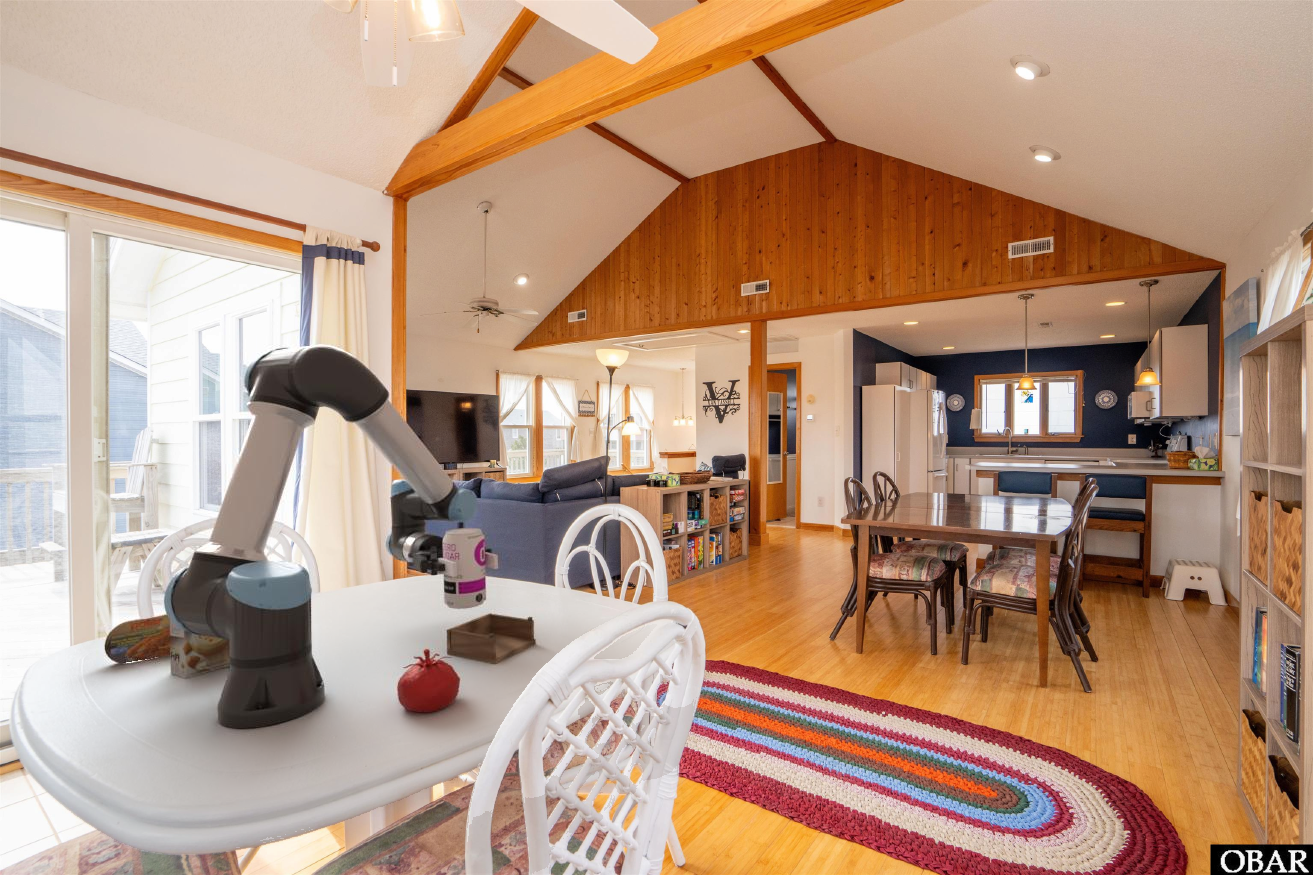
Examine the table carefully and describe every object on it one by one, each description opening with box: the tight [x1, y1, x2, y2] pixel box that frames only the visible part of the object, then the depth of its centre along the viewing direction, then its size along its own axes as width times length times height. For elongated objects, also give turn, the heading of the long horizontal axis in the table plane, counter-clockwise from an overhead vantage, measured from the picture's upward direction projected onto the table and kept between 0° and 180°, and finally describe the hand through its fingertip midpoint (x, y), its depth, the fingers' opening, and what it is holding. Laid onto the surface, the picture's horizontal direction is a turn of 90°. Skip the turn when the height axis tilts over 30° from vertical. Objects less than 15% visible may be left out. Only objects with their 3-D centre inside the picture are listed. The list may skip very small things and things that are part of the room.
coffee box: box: [169, 620, 230, 679], centre depth 123 cm, size 9×6×16 cm
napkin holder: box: [446, 612, 537, 665], centre depth 131 cm, size 13×13×6 cm
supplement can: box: [442, 527, 487, 610], centre depth 129 cm, size 8×8×15 cm
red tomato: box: [396, 648, 461, 714], centre depth 105 cm, size 10×10×9 cm
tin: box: [104, 613, 170, 664], centre depth 130 cm, size 15×3×8 cm, turn 133°
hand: (476, 565), depth 126 cm, fingers closed on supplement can, 8 cm apart
